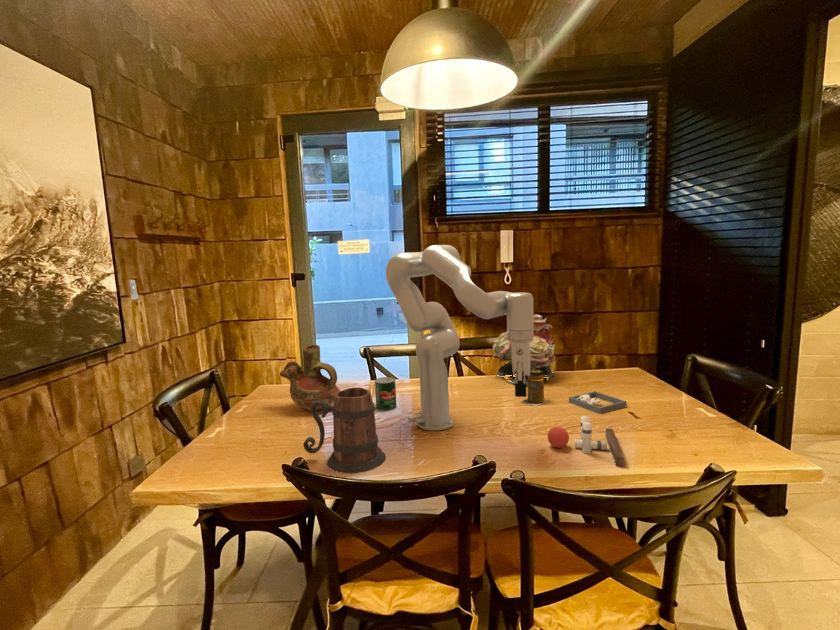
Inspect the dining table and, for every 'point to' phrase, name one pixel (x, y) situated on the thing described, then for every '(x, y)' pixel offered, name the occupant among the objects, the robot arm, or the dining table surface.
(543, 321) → the rose bouquet
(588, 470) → the dining table surface
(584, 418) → the back left pin
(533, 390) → the condiment
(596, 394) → the grey square tray
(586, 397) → the anatomical pelvis
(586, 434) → the back right pin
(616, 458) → the wall
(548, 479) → the dining table surface
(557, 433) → the ball
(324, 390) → the ceramic vessel
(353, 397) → the tankard
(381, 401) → the canned tomato
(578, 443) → the front pin
